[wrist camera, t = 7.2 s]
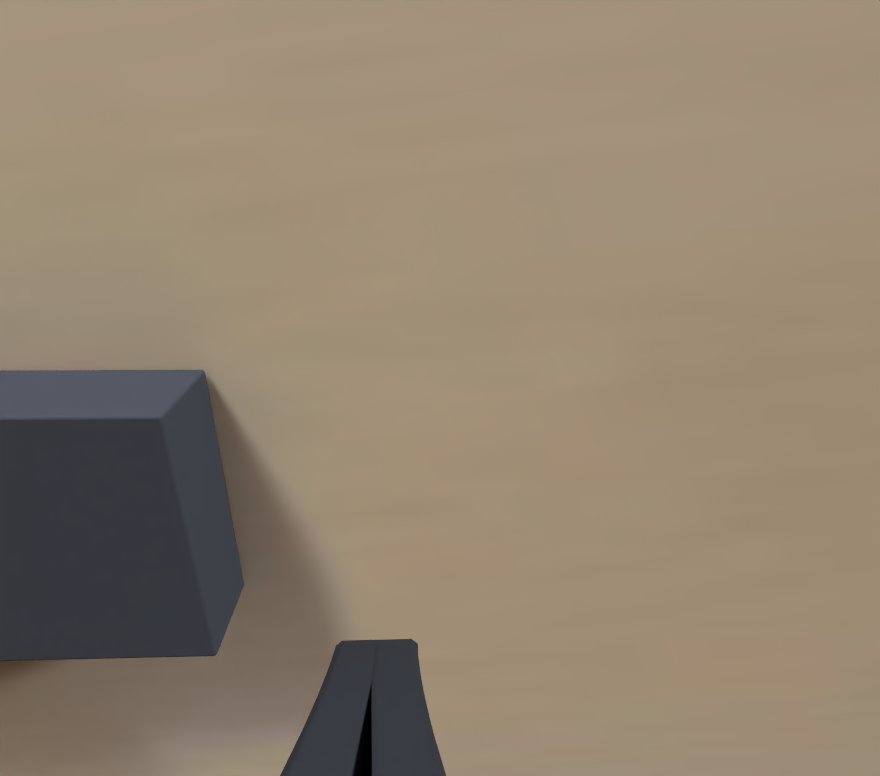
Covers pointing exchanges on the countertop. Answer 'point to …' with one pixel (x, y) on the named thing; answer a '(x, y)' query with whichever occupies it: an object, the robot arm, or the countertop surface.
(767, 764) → the countertop surface
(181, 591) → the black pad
